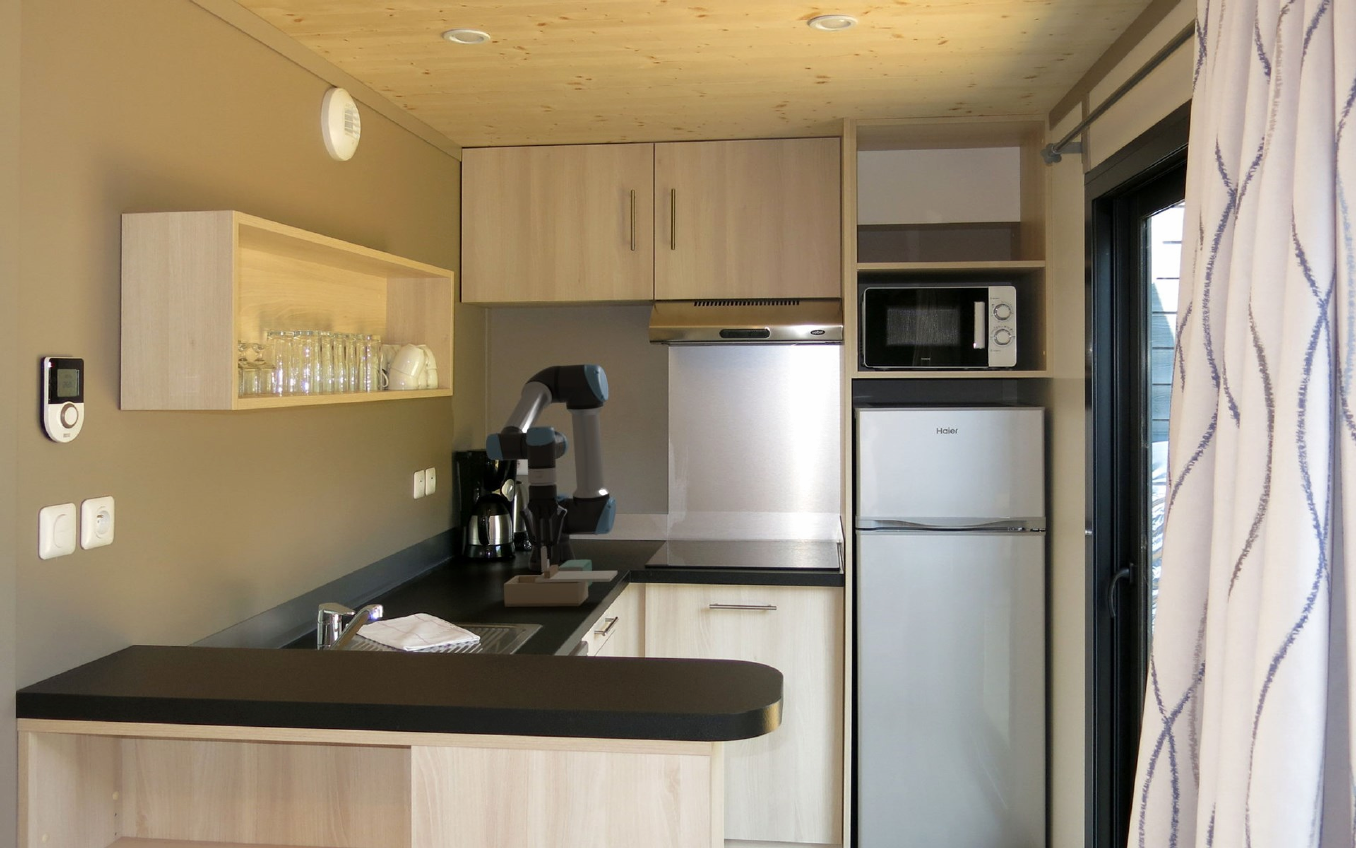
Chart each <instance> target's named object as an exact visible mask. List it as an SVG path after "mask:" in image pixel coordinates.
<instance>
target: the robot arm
mask: <svg viewBox="0 0 1356 848" xmlns="http://www.w3.org/2000/svg"><path fill="white" fill-rule="evenodd" d="M607 379H608V378H607V376H606V372H605V370H604V368H603V367H601V366H600V365H599V364H587V363H585V364H570V365H569V364H568V365H567V364H566V365H552V366H548V367H546V368H543V369H541V370H540V371H538V372H536V373H535V374H534V375H533V376H531V377H530V378H529V379H528V380H527V381H526V383H524V385H523V387H522V389H521V393H520V396H521V397H520V399H519V401H518V402H517V404H516V405H515V407H514V409H513V411H512V412H511V414H510V416H509V417H508V419H507V421H506V423H505V424H504V427H503V428H502V429H501V431H500V433H498V432H495V433H490V434H488V435H487V437H486V440H485V441H486V442H485V451H486V455H487V458H488V459H490V460H492V461H501V462H503V461H518V460H521V461H522V460H527V479H528V480H527V481H528V484H529V485H528V488H527V489H528V503H527V504H526V505H527V506H526V507H525V508H524V509H522V510H520V511H519V512H518V513H519V515H520V516H521V518H522V520H523V523H524V526H525V529H526V530H525V531H526V534H527V538H528V542H529V544H530V545H531V546H532V548H531V552H530V555H529V559H528V569H529V570H530V571H534V572H541V573H544V571H545V570H546V569H547V568H549V567H550V566H551V565H558V567H559V566H561V565H562V564H564V563H565V562H566V561H568V560H577V559H576V556H575V553H574V551H573V550H574V549H573V547H572V545H571V541H570V539H571V537H570V535H571V536H575V535H577V536H580V535H581V536H582V535H587V536H588V535H590V536H591V535H595V536H598V535H607V534H609V533H610V532H611V531H612V530H613V527H614V524H615V520H616V514H617V513H616V512H617V503H616V499H615V497H612V496H610V491H609V490H608V488H606V487H605V484H604V482H605V481H604V467H603V453H602V452H603V451H602V437H601V436H602V435H601V433H602V432H601V422H600V411H602V409H603V408H604V403H605V402H608V400H609V395H610V394H609V391H610V390H609V383H608V380H607ZM556 403H557V404H559V403H560V404H564V403H565V406H566V411H568V412H569V413H570V414H571V420H572V436H573V437H572V438H573V449H574V451H573V452H574V467H575V477H576V480H575V481H576V489H575V490H574V491H573V493H572V497H569V495H568V493H558V491H557V489H558V488H557V484H556V482H557V466H556V465H557V464H556V463H557V462H556V460H557V459H559V458H562V456H564V455H565V454H567V451H568V449H569V441H568V438H567V437H566V435H565V434H564V433H562V432H560V431H555V428H554V426H550V425H549V426H548V425H545V426H543V425H542V426H536V423H537V422H538V420H539V418H540V416H541V414H542V413H543V411H544V410H545V409H547V408H548V407H549V406H550V405H551V404H556ZM530 515H531V517H532V518H531V517H530ZM531 519H532V520H531Z"/></svg>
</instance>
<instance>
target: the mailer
mask: <svg viewBox="0 0 1356 848" xmlns="http://www.w3.org/2000/svg"><path fill="white" fill-rule="evenodd" d="M540 575H541V574H540ZM540 575H539V574H538V575H537V574H536V575H534V574H533V575H526V574H525V575H515V576H514V577H512V578H510V579H509V580H508V581H507V582H504V584H503V591H504V592H503V593H504V596H503V597H504V607H510V608H511V607H517V608H518V607H579V606H581V605H582V604H583V603H584V601H585V600H586V599H588V597H589V587H588V582H535V579H536V578H538V577H539V576H540Z"/></svg>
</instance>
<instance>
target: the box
mask: <svg viewBox="0 0 1356 848" xmlns="http://www.w3.org/2000/svg"><path fill="white" fill-rule="evenodd" d="M558 571H593V563H592V560H591V559H576V560H568V561H566V562H565V563H564V564H562V565H561V566H559V567H558ZM591 585H593V582H588V588H589V587H591Z"/></svg>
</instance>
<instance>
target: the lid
mask: <svg viewBox="0 0 1356 848" xmlns="http://www.w3.org/2000/svg"><path fill="white" fill-rule="evenodd" d="M617 575H618V570H592V571H558V565H551V566H550V567H549V568H547V569H546V570H545V571H544V572H542V574H540V576H539V577H538V578H536V579H535V582H592V583H594V582H595V583H597V582H601V583H604V582H608V583H609V582H611V581H612V580H613V579H614V578H615V577H616V576H617Z"/></svg>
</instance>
